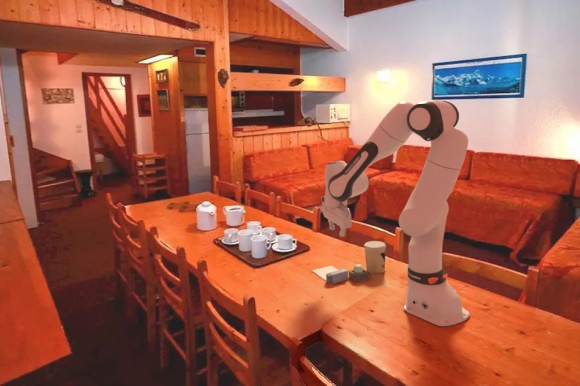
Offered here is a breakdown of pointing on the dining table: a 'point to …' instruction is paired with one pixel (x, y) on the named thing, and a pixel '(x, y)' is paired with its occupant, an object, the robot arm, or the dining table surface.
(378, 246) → the coffee cup
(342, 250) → the dining table surface
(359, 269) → the button
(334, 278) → the grey rectangular block
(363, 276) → the button housing
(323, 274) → the paper
